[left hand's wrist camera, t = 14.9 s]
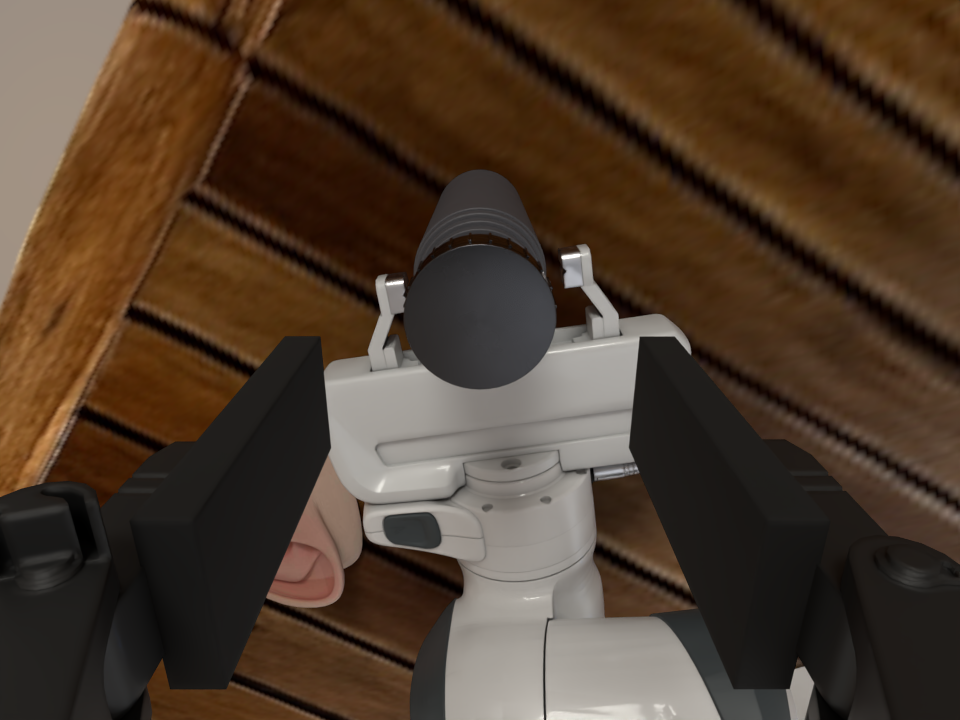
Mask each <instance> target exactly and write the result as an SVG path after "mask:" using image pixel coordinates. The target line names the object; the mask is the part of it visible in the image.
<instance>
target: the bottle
mask: <svg viewBox="0 0 960 720" xmlns="http://www.w3.org/2000/svg"><path fill="white" fill-rule="evenodd" d="M469 233H472V234H489V233H492V235H495V236H500V237H503V238H506V239H508V238H510V239H511V241H512V242H514V243H516V244H518V245H520V246H521V247H523V248H525V247H526V248H527V250H528V252H529V253H530V254H531V255H532V256H533V257H534V258H535V260H536V261H537V262H538V261H540V263H541V266H542V268H543V271H544V274H545V276H546V263H545V257H544V254H543V251H542V248H541V246H540V243H539V241H538V239H537V236H536V234H535V232H534V230H533V227H532V225H531V223H530V220H529V218H528V216H527V213H526V211H525V209H524V206H523V204H522V202H521V199H520V197H519V195H518V193H517V191H516V189H515V188H514V186H513V185H512V184H511V183H510V182H509V181H508V180H507V179H506V178H504V177H503V176H501V175H499V174H497V173H495V172H492V171H488V170H472V171H468V172H465V173H463V174H461V175H459V176H457V177H456V178H454V179H453V180H452V181H451V182H450V183H449V184H448V185H447V186H446V188H445V189H444V191H443V193H442V195H441V197H440V199H439V202H438V204H437V206H436V209H435V211H434V213H433V216H432V218H431V220H430V223H429V225H428V227H427V229H426V232H425V234H424V236H423V239H422V241H421V243H420V246H419V248H418V251H417V254H416V257H415V263H414V276H415V274H416V272H417V269H418V266H419V263H420V261H421V260H422V261H424V260H425V258H426V257H427V256H428V255H429V254H430V253H431V252H432V251H433V248H434V247H436V248H437V247H439V246H440V245H442V244H443V243H445V242H447V241H449V240H450V238H452V237H453V239H454V238H457V237H460V236H465V235H469Z"/></svg>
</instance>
